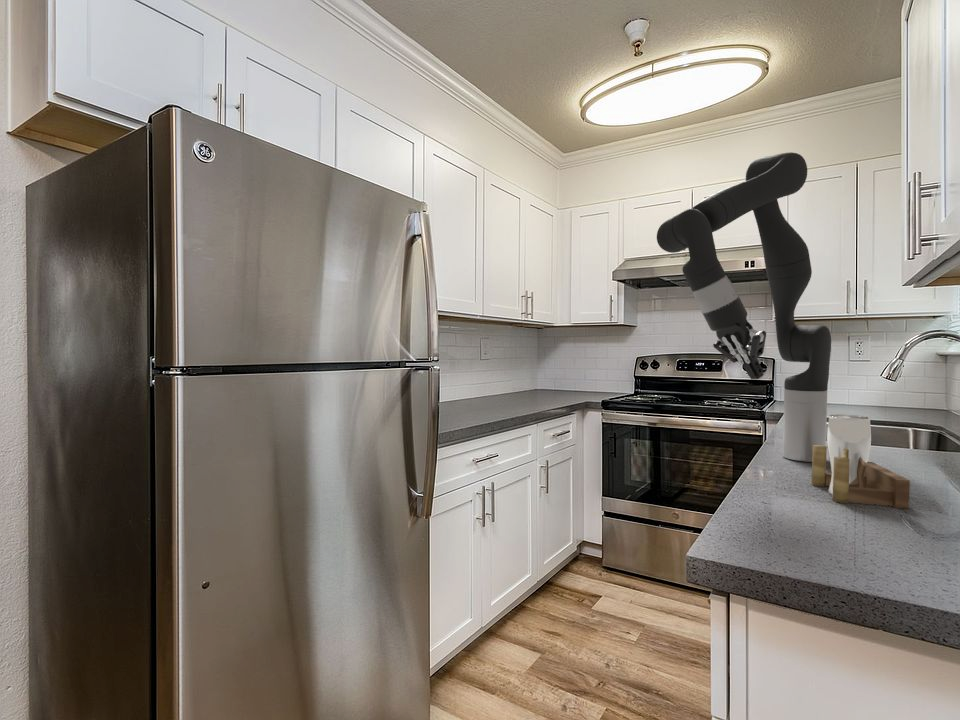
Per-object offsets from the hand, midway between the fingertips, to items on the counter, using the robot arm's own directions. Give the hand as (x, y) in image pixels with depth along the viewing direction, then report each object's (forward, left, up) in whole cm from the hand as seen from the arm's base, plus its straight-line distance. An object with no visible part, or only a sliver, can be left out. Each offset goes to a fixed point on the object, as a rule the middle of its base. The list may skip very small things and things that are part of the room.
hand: (757, 377), depth 112 cm
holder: (+4, +16, -22) cm, 27 cm away
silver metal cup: (+5, +15, -22) cm, 27 cm away
